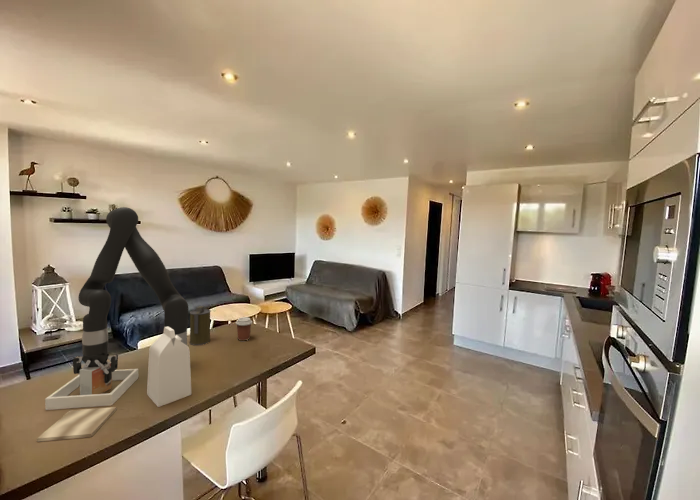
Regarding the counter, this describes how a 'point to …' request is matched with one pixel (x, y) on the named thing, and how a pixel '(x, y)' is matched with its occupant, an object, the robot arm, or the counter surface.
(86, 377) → the small box
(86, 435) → the board
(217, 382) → the counter surface
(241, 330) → the coffee cup
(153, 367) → the milk
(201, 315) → the canister
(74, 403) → the bin
